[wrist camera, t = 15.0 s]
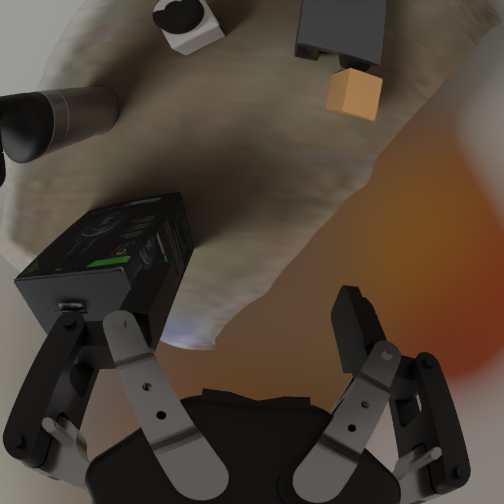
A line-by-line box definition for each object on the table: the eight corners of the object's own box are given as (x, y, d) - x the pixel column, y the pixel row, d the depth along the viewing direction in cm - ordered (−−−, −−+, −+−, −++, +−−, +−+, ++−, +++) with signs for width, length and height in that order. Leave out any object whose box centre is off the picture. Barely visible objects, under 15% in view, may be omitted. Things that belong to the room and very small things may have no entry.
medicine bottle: (226, 36, 32) (213, 14, 21) (185, 56, 34) (159, 43, 23) (207, 5, 29) (189, -23, 18) (168, 25, 30) (138, 6, 20)
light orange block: (325, 108, 37) (342, 111, 29) (331, 74, 34) (350, 67, 26) (351, 116, 38) (374, 120, 29) (358, 82, 35) (382, 79, 26)
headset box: (181, 190, 46) (112, 279, 23) (197, 249, 52) (156, 359, 29) (84, 211, 48) (3, 286, 26) (104, 260, 54) (42, 346, 32)
